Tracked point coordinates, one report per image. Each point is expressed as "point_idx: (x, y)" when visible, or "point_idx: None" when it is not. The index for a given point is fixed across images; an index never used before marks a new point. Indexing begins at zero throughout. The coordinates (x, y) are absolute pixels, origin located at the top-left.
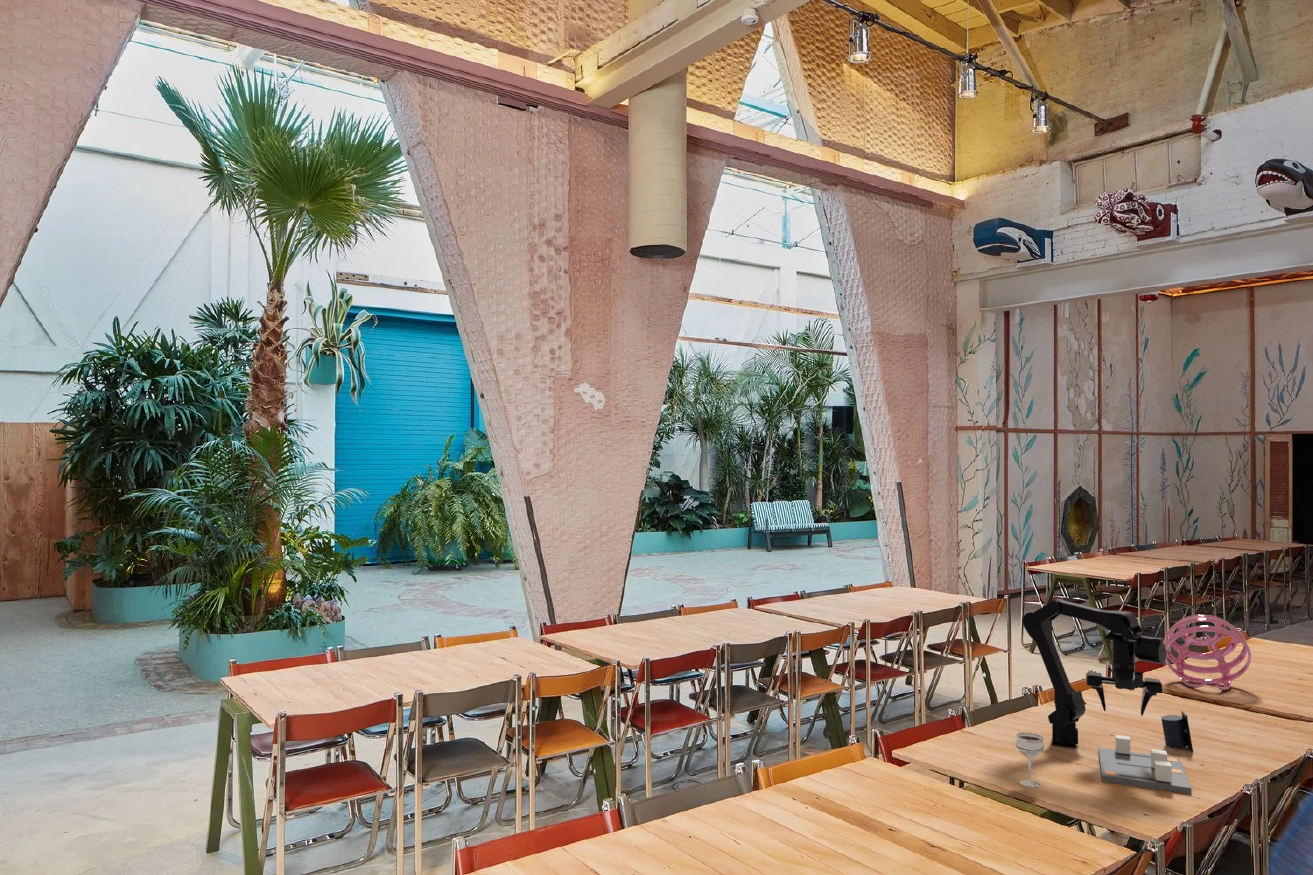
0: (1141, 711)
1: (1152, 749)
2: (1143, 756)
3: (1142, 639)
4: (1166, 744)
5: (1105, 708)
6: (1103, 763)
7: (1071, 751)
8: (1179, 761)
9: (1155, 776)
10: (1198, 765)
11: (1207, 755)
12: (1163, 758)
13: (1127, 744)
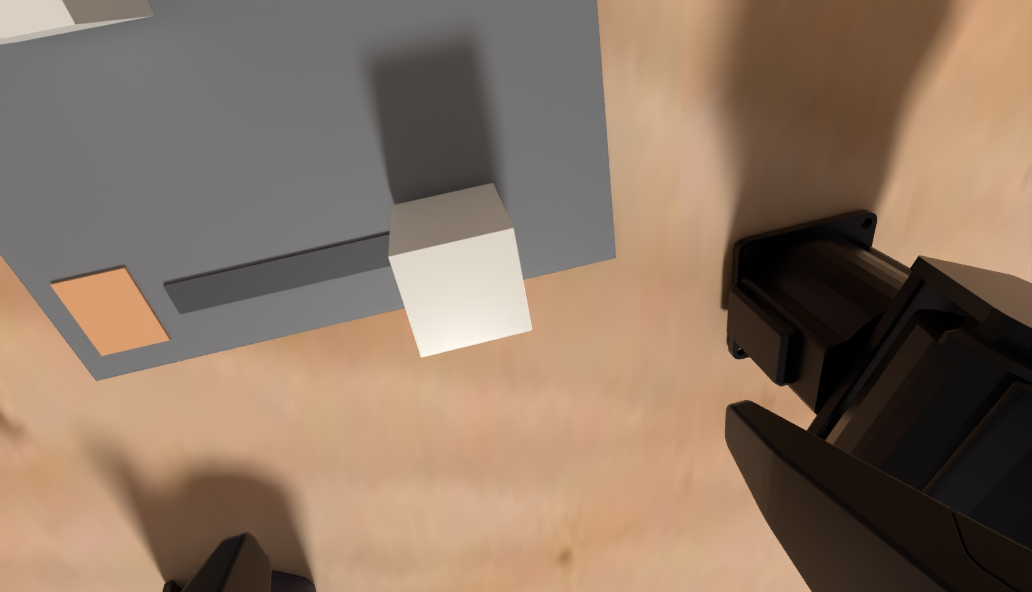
0: (218, 586)
1: (49, 8)
2: (308, 252)
3: None
4: (307, 586)
5: (751, 427)
6: None
7: (765, 156)
8: (55, 308)
9: None
10: (7, 399)
11: (81, 580)
12: None
13: (413, 230)
